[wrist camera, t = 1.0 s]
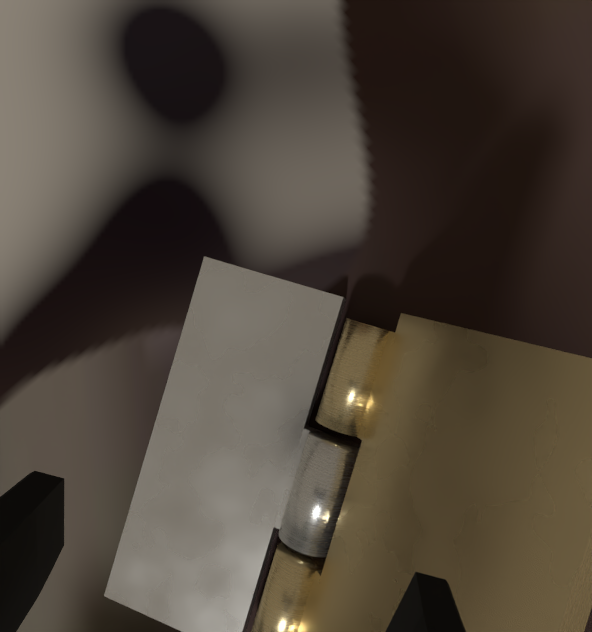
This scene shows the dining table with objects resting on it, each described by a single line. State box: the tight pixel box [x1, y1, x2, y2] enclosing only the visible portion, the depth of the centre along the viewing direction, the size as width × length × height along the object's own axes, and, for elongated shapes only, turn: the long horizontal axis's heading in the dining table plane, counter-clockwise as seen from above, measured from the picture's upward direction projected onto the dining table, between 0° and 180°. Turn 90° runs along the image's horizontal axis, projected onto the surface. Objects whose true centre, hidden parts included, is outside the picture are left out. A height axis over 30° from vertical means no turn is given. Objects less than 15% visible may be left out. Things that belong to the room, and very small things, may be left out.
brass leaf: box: [251, 313, 592, 632], centre depth 18 cm, size 13×16×2 cm
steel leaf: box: [104, 257, 360, 632], centre depth 24 cm, size 9×16×2 cm, turn 163°
